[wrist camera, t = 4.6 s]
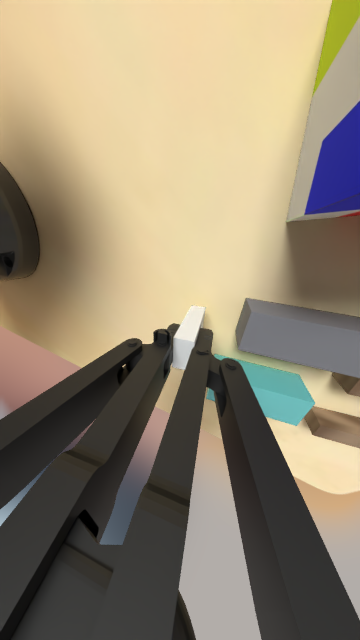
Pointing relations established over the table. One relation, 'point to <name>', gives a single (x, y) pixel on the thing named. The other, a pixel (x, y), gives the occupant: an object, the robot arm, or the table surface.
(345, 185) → the puzzle toy
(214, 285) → the table surface
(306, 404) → the teal block
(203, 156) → the table surface
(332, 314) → the grey block
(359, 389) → the comb rack
